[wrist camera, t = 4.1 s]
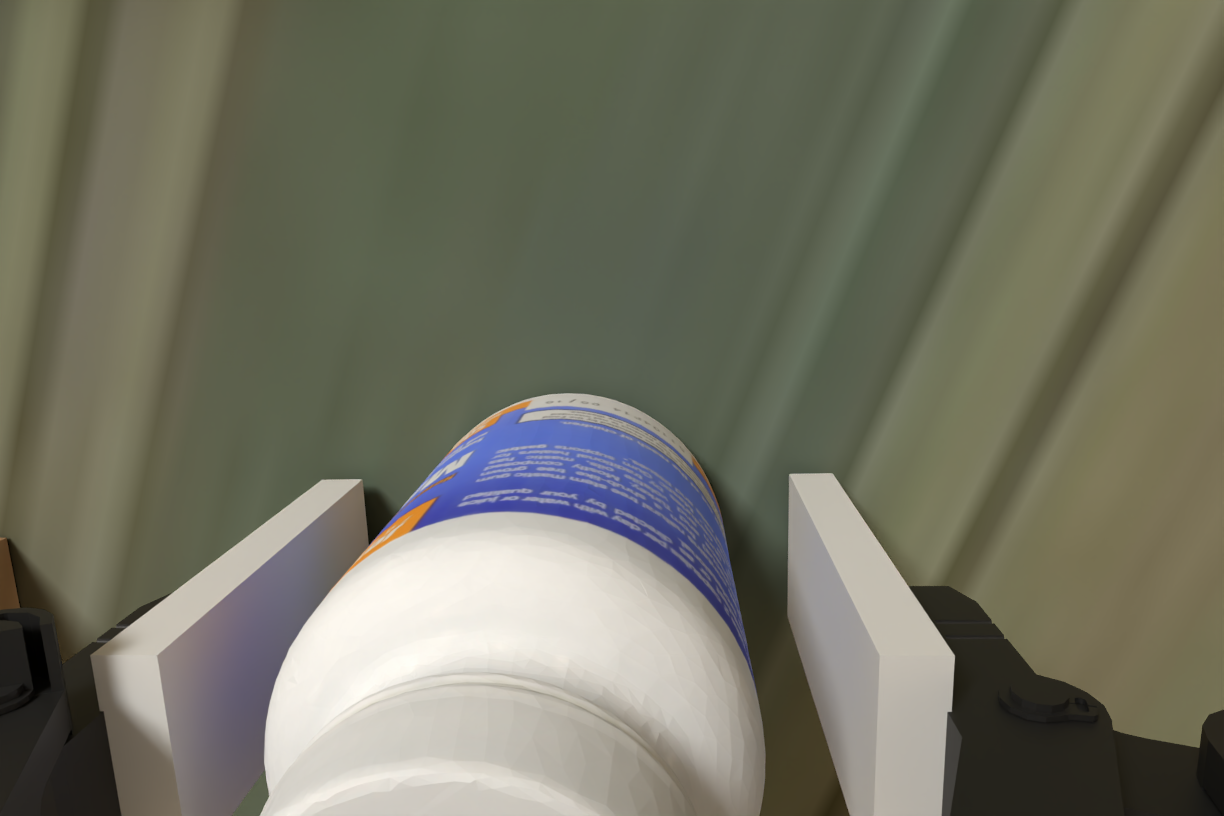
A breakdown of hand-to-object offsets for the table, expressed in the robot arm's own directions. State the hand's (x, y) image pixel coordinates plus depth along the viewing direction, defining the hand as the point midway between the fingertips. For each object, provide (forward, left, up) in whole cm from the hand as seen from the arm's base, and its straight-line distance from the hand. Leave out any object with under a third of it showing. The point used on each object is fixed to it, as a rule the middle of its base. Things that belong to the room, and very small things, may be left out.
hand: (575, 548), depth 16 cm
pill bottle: (0, 0, 0) cm, 1 cm away
